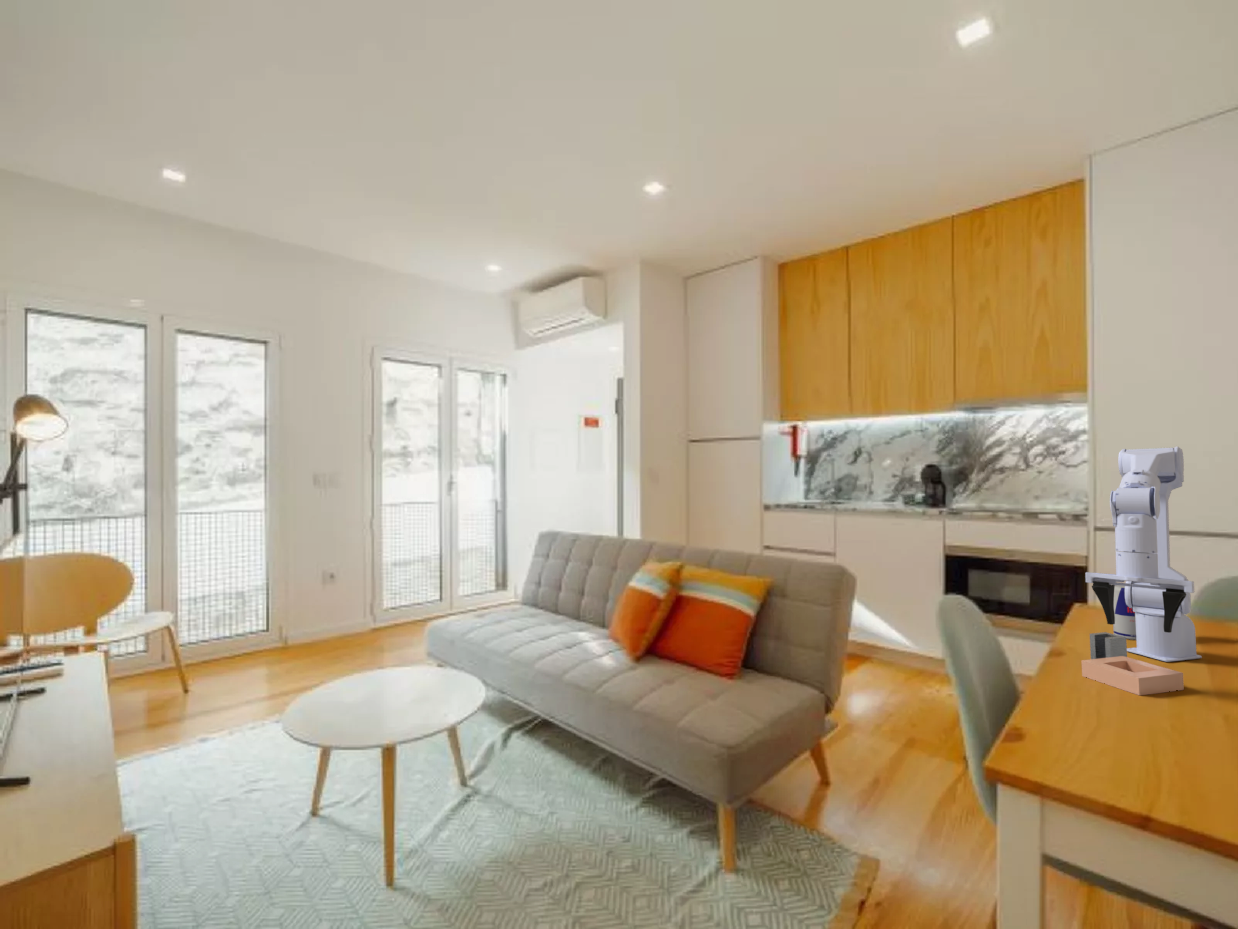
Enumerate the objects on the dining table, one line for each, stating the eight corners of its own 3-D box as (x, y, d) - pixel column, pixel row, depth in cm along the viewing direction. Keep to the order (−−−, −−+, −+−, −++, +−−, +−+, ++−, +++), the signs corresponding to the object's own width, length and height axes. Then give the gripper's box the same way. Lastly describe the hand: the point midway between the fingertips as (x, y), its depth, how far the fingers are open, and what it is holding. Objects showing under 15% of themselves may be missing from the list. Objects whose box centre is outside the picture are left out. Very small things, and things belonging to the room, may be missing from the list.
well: (1123, 671, 110) (1123, 655, 110) (1183, 689, 101) (1183, 672, 101) (1082, 676, 108) (1081, 660, 108) (1139, 695, 99) (1138, 678, 99)
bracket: (1106, 661, 116) (1105, 632, 116) (1127, 667, 112) (1126, 637, 113) (1091, 662, 116) (1089, 633, 116) (1111, 669, 112) (1110, 638, 112)
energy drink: (1138, 641, 129) (1135, 589, 129) (1109, 636, 134) (1106, 585, 134) (1148, 638, 131) (1146, 586, 132) (1120, 632, 136) (1117, 583, 136)
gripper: (1080, 549, 107) (1082, 622, 105) (1188, 555, 95) (1191, 637, 94) (1090, 549, 111) (1092, 619, 110) (1194, 556, 100) (1198, 634, 98)
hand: (1138, 627), depth 102 cm, fingers open, 7 cm apart
